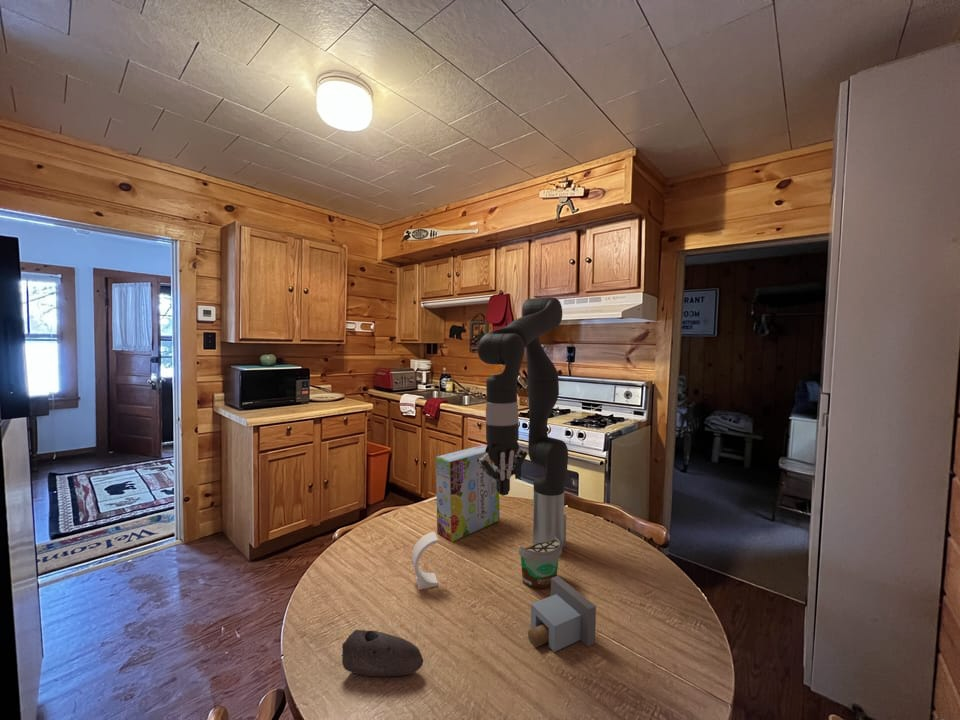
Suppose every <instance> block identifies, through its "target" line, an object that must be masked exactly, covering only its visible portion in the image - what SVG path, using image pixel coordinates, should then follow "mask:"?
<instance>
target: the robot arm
mask: <svg viewBox="0 0 960 720" xmlns="http://www.w3.org/2000/svg"><path fill="white" fill-rule="evenodd" d="M562 319H563V307H562V303H561V301H560V300H559V299H558V298H556V297H549V296H548V297H537V298H528V299H525V300H524V302H523V303H522V308H521V316H520V317H519V318H516V319H514V320H513V321H511V322H510V323H509V324H508V325H506V326H504V327H500V328H497V329H494V330H492V331H489V332H487V333H485V334H484V335H483V336H481V338H480V339H479V342H478V344H477V356H478V357H479V359H480V360H481V361H482V362H483V363H485V364H487V365H504V370H503V371H502V372H501V373H498V374H492V375H490V376H489V377H487V379H486V397H485V398H486V404H485V406H486V407H485V440H486V446H487V447H486V450H485V452H486V453H485V454H484V456H483V457H482V458H480V457H479V458H478V459H477V462H478V463H479V464H480V466H481V467H482V468H483V469H484V470H485V472H486V473H487V474H488V475H489V476H490V477H492V478H494V479H496V487H497V488H496V490H497V492H498V493H499V496H502V497H503V496H506V495H507V496H508V495H509V492H510V490H511V478H512V477H513V475H515V476H516V475H517V473H518V472H519V470H520V468H521V467H522V465H523V463H524V462H525V459H526V458H527V456H528V457H529V460H530V462H531V463H532V464H534V465H535V466H537V467H541V468H544V469H546V470H545V471H546V472H545V475H544V476H540V477H537V478H535V479H534V480H533V495H532V496H533V497H532V499H533V501H532V502H533V510H532V515H533V517H532V546H533V545H535V544H538V543H543V542H549V541H552V540H555V536H556V537H557V538H558V539H559V541H560V544H561V549H562V550H563V549H564V547H566V546H567V515H566V514H565V486H566V483H567V480H568V479H567V477H568V465H569V449H568V445H567V443H566V442H565V441H563V440H561V439H558V438H553V437H551V436H550V437H549V436H548V420H549V417H550V415H551V413H552V411H553V410H554V407H555V405H556V403H557V402H558V400H559V399H558V398H559V395H560V385H559V384H560V383H559V382H560V381H559V372H558V370H557V368H556V366H555V364H554V363H553V361H552V359H551V358H550V357H549V356H548V354H547V353H546V352H545V350H544V348H543V345H542V343H541V340H540V337H541V336H542V335H544V334H545V333H547V332H550V331H551V330H553V329H556V328H558V327H559V326H560V324H561V323H562ZM525 351H526V354H525ZM524 355H526V377H527V378H526V379H527V393H528V394H527V395H528V419H529V420H528V421H529V424H528V440H527V441H528V445H527V449H528V450H527V451H528V452H527V451H524V450H522V449H521V448H520V444H519V442H518V441H519V439H520V437H519V436H520V435H519V433H520V432H519V429H520V428H519V427H520V426H519V424H520V423H519V422H520V421H519V407H518V406H519V405H518V380H519V376H520V375H519V374H520V369H521V367H522V362H523V360H524ZM489 458H490V460H491V461H492V462H493V467H494V469H493V468H492V467H491V466H490V460H489Z"/></svg>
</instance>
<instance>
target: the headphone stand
mask: <svg viewBox="0 0 960 720" xmlns="http://www.w3.org/2000/svg"><path fill="white" fill-rule="evenodd" d="M438 543H439V538H438V536H437V534H436V532H435V531H431V532H428V533H426V534H424V535H423V536H421V538H419V539H418V541H416V543H415V545H414V546H413V549H412V552H411V563H412V567H413V570H414V573H415V583H416V586H417V588H418V590H419V591H420V590H425V589H429V588H435V587H438V586H439V580H438V578H437V577H436V574H435V572H426V571H423V570H422V569H420V568H419V562H420V559H421V557H422V554H423V553H424V552H425V551H426V550H427V549H428V548H430V547H431V546H433V545H435V544H438Z"/></svg>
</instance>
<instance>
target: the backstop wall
mask: <svg viewBox="0 0 960 720" xmlns="http://www.w3.org/2000/svg"><path fill="white" fill-rule="evenodd" d="M555 594H557V595H558V596H559V597H560V598H562V599H563V600H564V601H565V602H566V603H567V604H569V605H570V606H571V607H572V608H573V609H574V610H576V611H577V612H578V613H579V614H580V615H581V634H580V640H579V641H580V642H582V643H583V644H584V646H586V647H587V648H590V647H591V646H594V645H595V644H596V617H597V615H596V614H597V613H596V612H597V607H596V605H595V604H594V603H593V602H591V601H590V600H589V599H587V598H586V597H585V596H584V595H583V594H582V593H580V592H579V591H577V590H576V589H575V588H574V587H573V586H572V585H570V584H569V583H567V582H566V581H565V580H564V579H562V577H560V576H559V575H557V576H556V577H553V578H551V588H550V596H553V595H555Z"/></svg>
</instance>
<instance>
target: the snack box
mask: <svg viewBox="0 0 960 720" xmlns="http://www.w3.org/2000/svg"><path fill="white" fill-rule="evenodd" d="M486 447H487V444H482V445H477V446H474V447H473V446H472V447H469V448H465V449H461V450H457V451H454V452H450V453H446V454H445V453H444V454H442V455H438V456H435V474H436V475H435V479H436V480H435V481H436V482H435V483H436V486H435V487H436V532H437V534H438V535H439V536H441V537H443V538H445V539H446V540H448V541H450V542H451V543H453V542H455V541H457V540H460V539H462V538H464V537H466V536H468V535H470V534H473V533H475V532H478V531H479V530H482V529H484V528H486V527H488V526H491V525H493V524H495V523H498V522H500V520H501V519H500V517H501V516H500V510H501V509H500V494H499V493H498V492H497V490H496V488H497V487H496V479H494V478H492V477H490V476H489V475H488V474H487V473H486V472H485V470H484V469H483V468H482V467H481V466H480V464H479V463H478V462H477V459H478V458H479V457H480V458H482V457H483V456H484V454H485V453H486V452H485V450H486ZM489 460H490V458H489ZM490 466H491V467H492V468H493V469H494V467H493V462H492V461H491V460H490Z"/></svg>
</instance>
